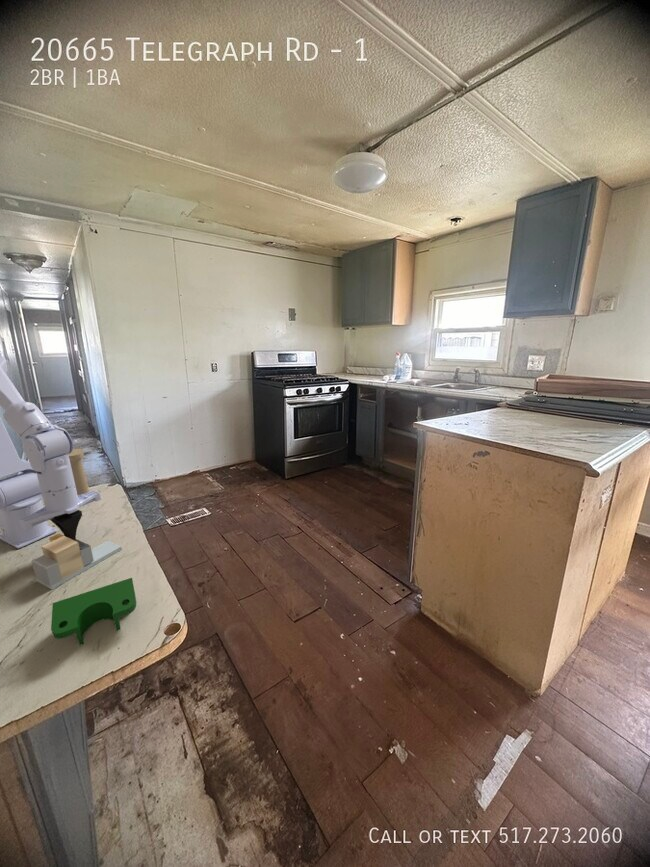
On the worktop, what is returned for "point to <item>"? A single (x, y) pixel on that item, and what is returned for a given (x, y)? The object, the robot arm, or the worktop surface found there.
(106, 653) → the worktop surface
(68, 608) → the clamp
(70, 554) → the block
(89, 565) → the vise
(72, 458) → the handle
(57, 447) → the robot arm
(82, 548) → the free jaw
